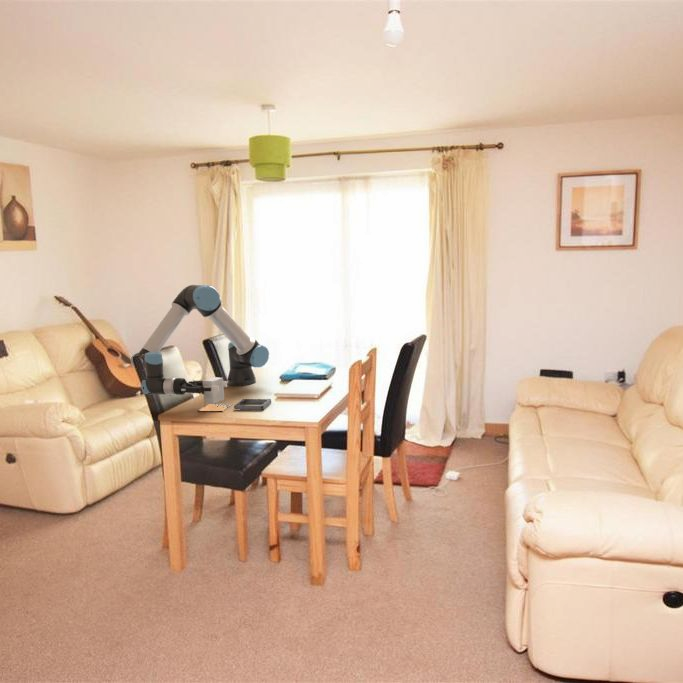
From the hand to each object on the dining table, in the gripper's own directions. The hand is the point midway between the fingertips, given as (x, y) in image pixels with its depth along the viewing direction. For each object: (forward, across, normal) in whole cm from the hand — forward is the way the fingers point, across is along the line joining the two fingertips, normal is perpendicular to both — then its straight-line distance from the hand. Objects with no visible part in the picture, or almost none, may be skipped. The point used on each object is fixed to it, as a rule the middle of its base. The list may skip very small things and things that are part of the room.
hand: (222, 386), depth 258 cm
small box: (-5, 0, -7) cm, 8 cm away
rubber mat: (-4, 0, -10) cm, 11 cm away
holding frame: (+13, -3, -10) cm, 16 cm away
